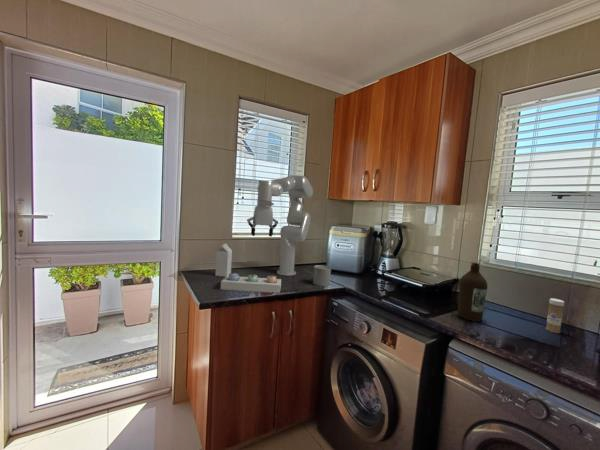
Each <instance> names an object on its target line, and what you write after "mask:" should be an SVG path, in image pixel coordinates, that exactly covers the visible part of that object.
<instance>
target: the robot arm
mask: <svg viewBox="0 0 600 450" xmlns="http://www.w3.org/2000/svg"><path fill="white" fill-rule="evenodd" d="M313 192H314V189H313V187H312V184H311V183H310V181H309V179H308V178H307V177H306V176H305V175H288V176H286V177H285V176H284V177H281V178H276V179H269V180H260V181H259V182H258V186H257V199H256V200H257V201H256V203H257V204H256V205H255V207H254V211H253V216H252V217H250V218H248V219H246V222H247V224H248V226H249V227H250V228H251V232H250V234H251V236H253V237H255V235H256V228H255V227H256V226H257V225H258V226H268V227H269V230H268V236H269V237H272V236H273V235H274V230H275V228H277V226H278V223H279V221H278V220H277V219H275V218H274V214H273V213H274V211H273V206H274V205H275V204H274V203H275V202H273V201H272V200H273V199H272V198H273V197H279V196H281V195H282V194H283V193H288V198H289V201H290V206H289V210H288V213H287V216H286V223H287V224H288V225H283V226H282V227H281V228H280V232H279V233H280V257H279V269H278V270H277V271H276V274H278V275H281V276H289V277H290V276H295V275H296V274H297V272H296V270H295V259H296V245H295V243H294V242H300V243H301V242H305V240H307V237H308V233H309V228H310V226H311V214H310V213H309V212H307V211H303V209H304V207H303V206H304V205H303V202H302V201H301V199H311V198H312V197H313V194H314V193H313ZM251 221H252V222H251Z"/></svg>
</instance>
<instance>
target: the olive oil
mask: <svg viewBox="0 0 600 450" xmlns="http://www.w3.org/2000/svg"><path fill="white" fill-rule="evenodd" d="M480 264H481V263H479V262H476V261H475V262H474V261H473V262H471V264H470V270H469V271H467V272H466V273H465V274H463V275H462V276H461V278H460V280H459V291H458V306H457V307H458V308H457V316H458V315H459V316H460V318H461V317H463V318H465V319H464V320H466V319H468V320H467V321H470V320H472V322H482V321H481V320H483V316H484V312H485V305H486V304H485V303H486V298H487V292H488V281H487V280H486V279H485V277H484V276H483V275H482V273H480V269H481V267H480ZM459 316H458V317H459ZM463 318H462V319H463Z"/></svg>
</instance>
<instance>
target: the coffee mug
mask: <svg viewBox="0 0 600 450" xmlns="http://www.w3.org/2000/svg"><path fill="white" fill-rule="evenodd" d="M331 272H332V267H330V266H328V265H322V264H321V265H314V267H313V278H312V284H313V285H315V286H318V287H329V286H331V275H332V274H331Z"/></svg>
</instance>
